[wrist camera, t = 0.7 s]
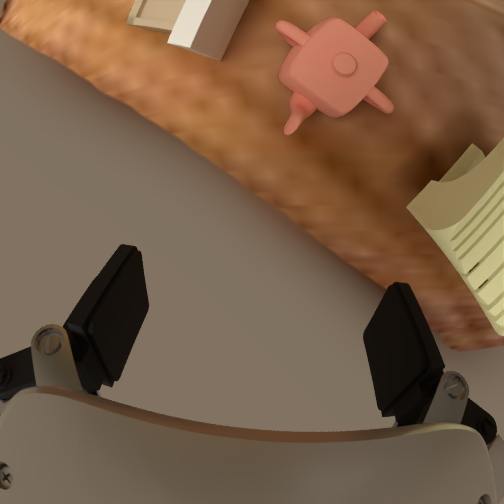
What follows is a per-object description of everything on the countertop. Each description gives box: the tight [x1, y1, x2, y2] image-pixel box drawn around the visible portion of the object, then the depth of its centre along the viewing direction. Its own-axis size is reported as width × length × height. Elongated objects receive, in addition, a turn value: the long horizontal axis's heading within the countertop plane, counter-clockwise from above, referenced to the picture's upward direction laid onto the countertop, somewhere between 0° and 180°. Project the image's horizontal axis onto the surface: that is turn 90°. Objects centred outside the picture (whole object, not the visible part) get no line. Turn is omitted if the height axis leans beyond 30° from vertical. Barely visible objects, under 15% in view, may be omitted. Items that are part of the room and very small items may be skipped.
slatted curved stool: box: [406, 138, 504, 336], centre depth 28 cm, size 30×16×18 cm, turn 54°
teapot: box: [275, 10, 394, 135], centre depth 24 cm, size 14×12×10 cm
